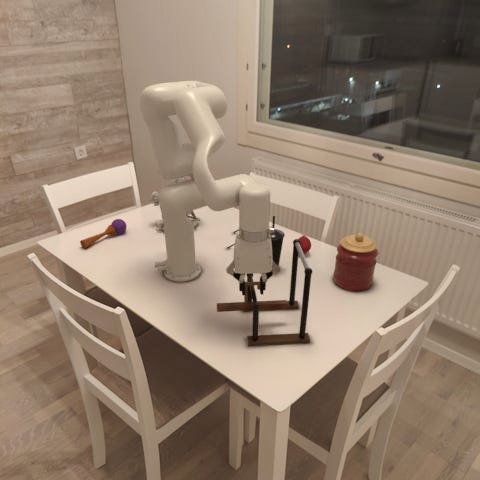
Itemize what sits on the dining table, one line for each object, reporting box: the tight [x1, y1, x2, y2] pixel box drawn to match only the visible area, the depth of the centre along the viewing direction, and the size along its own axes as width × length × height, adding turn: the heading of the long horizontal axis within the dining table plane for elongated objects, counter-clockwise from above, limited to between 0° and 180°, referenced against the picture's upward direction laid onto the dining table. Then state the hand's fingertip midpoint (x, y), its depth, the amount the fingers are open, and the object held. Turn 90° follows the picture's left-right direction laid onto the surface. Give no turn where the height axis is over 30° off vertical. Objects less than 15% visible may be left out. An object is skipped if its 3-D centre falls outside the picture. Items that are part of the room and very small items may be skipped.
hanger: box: [216, 280, 288, 313], centre depth 124 cm, size 20×2×9 cm, turn 95°
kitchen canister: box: [332, 232, 379, 292], centre depth 144 cm, size 13×13×18 cm
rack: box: [242, 238, 313, 347], centre depth 123 cm, size 17×19×23 cm
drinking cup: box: [270, 215, 286, 268], centre depth 150 cm, size 8×8×20 cm
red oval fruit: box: [297, 234, 312, 255], centre depth 163 cm, size 6×6×8 cm
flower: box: [147, 177, 200, 232], centre depth 180 cm, size 20×22×25 cm
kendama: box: [79, 218, 127, 249], centre depth 174 cm, size 6×6×20 cm
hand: (252, 291), depth 123 cm, fingers closed on hanger, 4 cm apart
